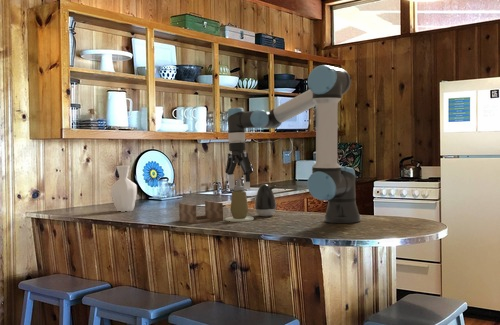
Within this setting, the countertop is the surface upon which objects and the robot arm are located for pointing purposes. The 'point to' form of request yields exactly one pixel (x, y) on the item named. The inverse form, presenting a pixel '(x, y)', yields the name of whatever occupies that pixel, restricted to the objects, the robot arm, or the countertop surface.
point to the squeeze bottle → (239, 202)
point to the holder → (211, 211)
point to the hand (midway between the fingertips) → (239, 189)
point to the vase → (124, 191)
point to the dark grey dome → (265, 201)
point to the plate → (239, 219)
